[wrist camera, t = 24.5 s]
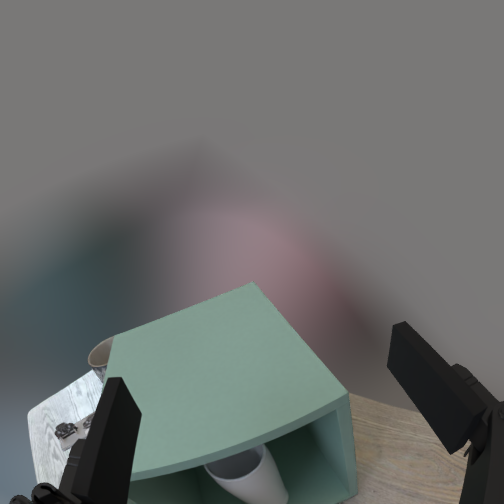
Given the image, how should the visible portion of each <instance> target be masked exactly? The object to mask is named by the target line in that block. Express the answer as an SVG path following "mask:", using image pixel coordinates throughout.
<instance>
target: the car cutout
mask: <svg viewBox="0 0 504 504" xmlns="http://www.w3.org/2000/svg"><path fill="white" fill-rule="evenodd" d="M94 414H95V412H93V413H92V414H90V415H88V416H87V417H85V418H84V419H82V420H80V421H79V422H77V423H75V424H73V423H69V424H67V423H61V424H59V425H58V426H57V427H56V430H57V431H55V435H56V436H57V437H58V439H60V443H61V447H62V450H63V451H65V450H67V449H68V448H70V447H72V446H73V445H74V443H75V442H76V441H77V440H78V438H79V439H85V438H86V437H87V434H88V431H89V428H90V425H91V422H92V419H93V417H94Z"/></svg>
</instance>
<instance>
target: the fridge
mask: <svg viewBox="0 0 504 504" xmlns="http://www.w3.org/2000/svg"><path fill="white" fill-rule="evenodd" d="M108 377H122V378H123V380H124V382H125V384H126V386H127V388H128V390H129V392H130V393H131V395H132V397H133V399H134V401H135V402H136V404H137V406H138V408H139V409H140V411H141V413H142V418H141V423H140V428H139V433H138V438H137V444H136V449H135V455H134V461H133V467H132V473H131V479H130V486H129V493H128V501H127V504H246V503H245V502H243V501H241V500H240V499H238V498H236V497H235V496H233V495H232V494H230V493H229V492H227V491H226V490H225V489H223V488H222V487H221V486H220V485H219V484H218V483H217V482H216V481H215V480H214V479H213V478H212V477H211V476H210V475H209V474H208V472H207V471H206V469H205V467H204V464H207V463H210V462H213V461H217V460H220V459H223V458H226V457H229V456H232V455H234V454H237V453H240V452H243V451H246V450H248V449H251V448H253V447H256V446H259V445H261V444H265V445H266V446H267V448H268V449H269V451H270V453H271V454H272V456H273V458H274V460H275V462H276V465H277V467H278V470H279V473H280V475H281V478H282V481H283V483H284V485H285V487H286V489H287V491H288V493H289V499H288V502H287V504H339V503H341V502H343V501H345V500H347V499H349V498H351V497H353V496H354V495H356V494H358V486H357V471H356V458H355V446H354V436H353V427H352V418H351V409H350V402H349V401H350V400H349V392H348V391H347V390H346V389H345V388H344V387H343V385H342V384H341V383H340V382H339V381H338V380H337V379H336V377H335V376H334V375H333V374H332V373H331V372H330V371H329V369H327V367H326V366H325V365H324V364H323V363H322V361H321V360H320V359H319V358H318V357H317V355H316V354H315V353H314V352H313V351H312V350H311V349H310V347H309V346H308V345H307V344H306V343H305V342H304V341H303V339H302V338H301V337H300V336H299V335H298V333H297V332H296V331H295V330H294V329H293V328H292V326H291V325H290V324H289V323H288V322H287V320H286V319H285V318H284V317H283V316H282V315H281V314H280V312H279V311H278V310H277V309H276V308H275V306H274V305H273V304H272V303H271V302H270V301H269V299H268V298H267V297H266V296H265V294H264V293H263V292H262V291H261V290H260V289H259V287H258V286H257V285H256V284H255V283H254V282H251V283H248V284H246V285H244V286H242V287H239V288H236V289H234V290H231V291H229V292H226V293H224V294H222V295H219V296H216V297H214V298H212V299H209V300H207V301H204V302H202V303H199V304H196V305H194V306H191V307H189V308H186V309H184V310H182V311H179V312H176V313H174V314H171V315H168V316H166V317H163V318H161V319H158V320H155V321H153V322H150V323H147V324H145V325H142V326H140V327H137V328H134V329H132V330H129V331H126V332H124V333H121V334H118V335H115V336H114V339H113V343H112V347H111V351H110V356H109V360H108V364H107V369H106V374H105V378H104V383H103V388H102V392H103V389H104V387H105V384H106V381H107V379H108ZM101 394H102V393H101Z"/></svg>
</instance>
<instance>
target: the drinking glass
mask: <svg viewBox="0 0 504 504" xmlns="http://www.w3.org/2000/svg"><path fill="white" fill-rule="evenodd" d="M204 467H205V469H206V471H207V472H208V474H209V475H210V476H211V477H212V478H213V479H214V480H215V481H216V482H217V483H218V484H219V485H220V486H221V487H222V488H223V489H225V490H226V491H227V492H229V493H230V494H232V495H233V496H235V497H236V498H238V499H240V500H241V501H243V502H245V503H246V504H287V502H288V499H289V493H288V491H287V489H286V487H285V485H284V483H283V481H282V478H281V475H280V473H279V470H278V467H277V465H276V462H275V460H274V458H273V456H272V454H271V453H270V451H269V449H268V448H267V446H266V445H265V444H261V445H259V446H256V447H253V448H251V449H248V450H246V451H243V452H240V453H237V454H234V455H232V456H229V457H226V458H223V459H220V460H217V461H213V462H210V463H207V464H204Z"/></svg>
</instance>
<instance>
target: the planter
mask: <svg viewBox="0 0 504 504" xmlns="http://www.w3.org/2000/svg"><path fill="white" fill-rule="evenodd" d="M113 339H114V336H113V337H110V338H108V339H106V340H104V341H103V342H101V343H100V344H98V345H97V346H96V347H95V348H94V349H93V351H92V352H91V353H90V354H89V357H88V363H89V365H90V366H91V367H92V369H93V371H94V372H95V373H96V375H97V376H98V378H99V379H100V380H101V382H102V383H104V378H105V374H106V369H107V364H108V360H109V356H110V351H111V347H112V343H113Z"/></svg>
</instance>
